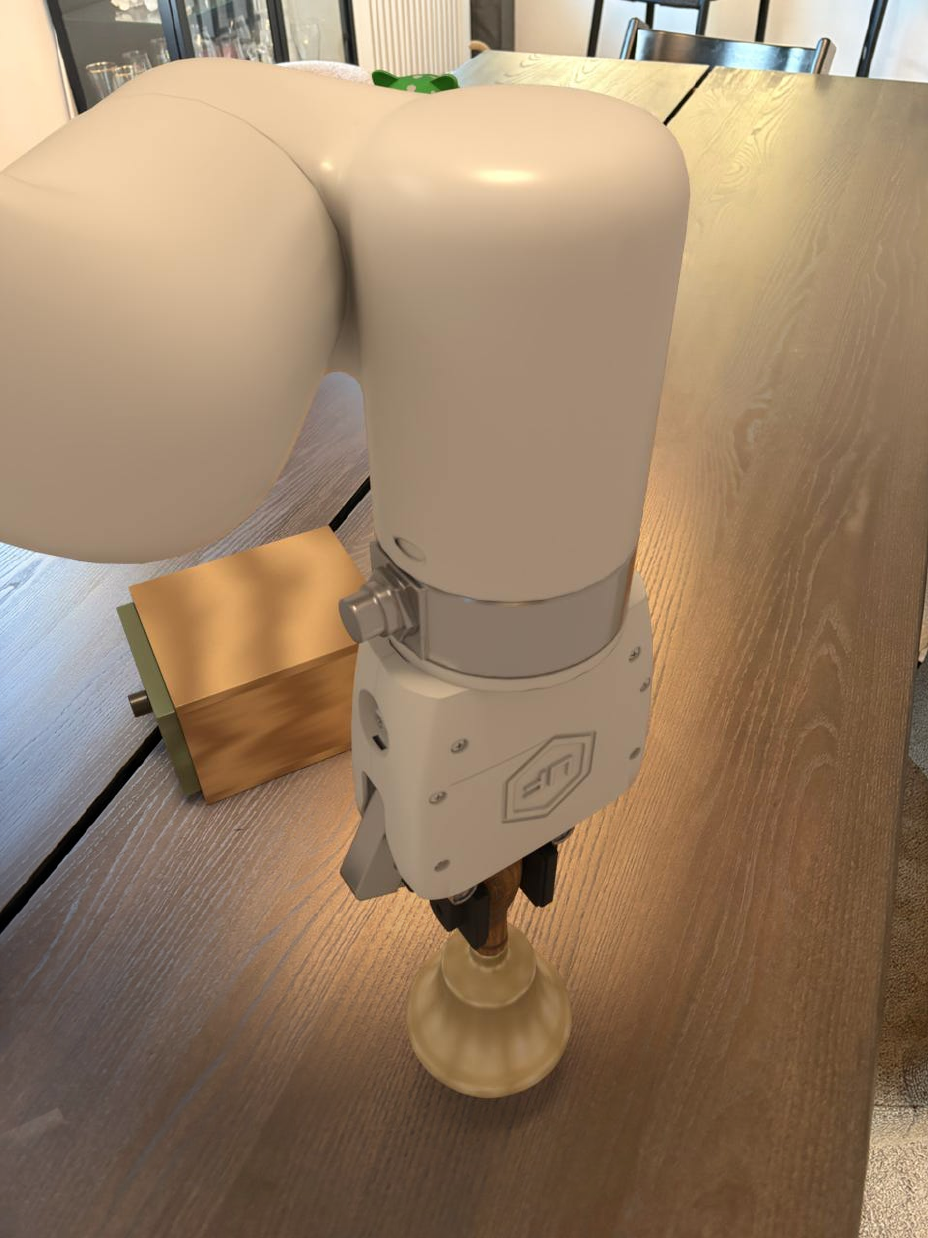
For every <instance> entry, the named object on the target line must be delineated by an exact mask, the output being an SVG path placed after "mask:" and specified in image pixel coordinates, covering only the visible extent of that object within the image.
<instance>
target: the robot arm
mask: <svg viewBox="0 0 928 1238" xmlns="http://www.w3.org/2000/svg"><path fill="white" fill-rule="evenodd" d="M677 139H678V138H677V137H676V136H675V135H674V134H673V132H672V131H671V130H670V129H669V128H668V127H667V126H666V124H664V122H662V121H661V120H660V118H658V117H657V116H656V115H655V114H653V113H651V112H650V111H648V110H646V109H644V108H642V107H640V106H638V105H636V104H634V103H631V102H629V101H625V100H623V99H621V98H618V97H615V96H611V95H609V94H605V93H602V92H597V91H593V90H588V89H584V88H583V89H582V88H575V87H570V86H562V85H553V84H552V85H551V84H538V83H537V84H534V83H501V84H500V83H498V84H482V85H472V86H465V87H460V88H457V89H452V90H446V91H441V92H438V93H434V94H426V93H418V92H410V91H403V90H397V89H392V88H386V87H381V86H375V85H374V84H370V83H364V82H360V81H359V82H358V81H353V80H347V79H343V78H339V77H334V76H329V75H326V74H325V75H324V74H320V73H317V72H316V73H315V72H312V71H311V72H310V71H306V70H302V69H297V68H292V67H288V66H283V65H279V64H278V65H277V64H273V63H268V62H261V61H256V60H251V59H250V60H248V59H241V58H233V57H226V56H225V57H224V56H223V57H222V56H221V57H220V56H219V57H218V56H215V57H214V56H204V57H203V56H202V57H201V56H200V57H190V58H183V59H177V60H172V61H170V62H165V63H164V64H160V65H158V66H157V65H156V66H155V67H152V68H149V69H147V70H145V71H143V72H142V73H139V74H138V75H136V76H134V77H132V78H131V79H129V80H128V81H126V82H125V83H124V84H122V85H121V86H120V87H118V88H117V89H115V90H114V91H112V92H111V93H110V94H108V95H107V96H106V97H105V98H103V99H101V100H100V101H99V102H98V103H96V104H95V105H94V106H92V107H91V108H89V109H88V110H86V111H84V112H82V113H79V114H78V115H76V116H75V117H72V118H71V119H70V120H68V121H67V122H65V123H64V124H62V126H60V127H59V128H57V129H56V130H55V131H53V132H52V133H50V134H49V135H48V136H46V137H45V138H44V139H42V140H41V141H40V142H39V143H37V144H36V145H34V146H33V147H32V148H30V149H29V150H27V151H26V152H25V153H24V154H22V155H21V156H19V157H18V158H16V159H15V160H14V161H13V162H11V163H10V164H8V165H7V166H6V167H5V168H3V169H1V170H0V543H2V544H5V545H8V546H11V547H16V548H19V549H22V550H26V551H30V552H33V553H38V554H43V555H48V556H52V557H57V558H63V559H68V560H72V561H77V562H83V563H84V562H85V563H91V564H102V565H103V564H104V565H105V564H107V565H108V564H109V565H111V564H112V565H144V564H150V563H155V562H159V561H165V560H171V559H176V558H180V557H181V558H182V557H184V556H187V555H190V554H191V553H194V552H197V551H199V550H201V549H203V548H205V547H207V546H209V545H211V544H213V543H215V542H218V541H219V540H222V539H223V538H224V537H226V536H227V535H228V534H229V533H231V532H232V531H233V530H235V528H237V527H238V526H239V525H241V524H242V522H244V521H245V520H246V519H247V518H248V517H249V516H250V515H252V514H253V513H254V512H255V511H256V510H257V509H258V507H259V506H260V505H261V504H262V503H263V501H264V500H265V499H266V497H268V495H269V493H270V492H271V490H272V489H273V487H274V486H275V484H276V483H277V481H278V479H279V478H280V476H281V474H282V472H283V470H284V469H285V466H286V464H287V463H288V461H289V459H290V456H291V454H292V452H293V450H294V447H295V446H296V443H297V441H298V438H299V436H300V434H301V431H302V428H303V427H304V424H305V421H306V419H307V417H308V414H309V412H310V409H311V407H312V405H313V402H314V400H315V397H316V395H317V393H318V390H319V387H320V385H321V383H322V380H323V378H324V377H326V376H328V375H330V374H333V373H343V374H345V375H349V377H352V379H354V380H355V382H357V383H358V385H359V387H360V390H361V392H362V399H363V400H362V401H363V410H364V411H363V412H364V422H365V434H366V447H367V459H368V471H369V483H370V484H369V485H370V494H371V507H372V508H371V509H372V519H373V520H372V521H373V534H374V536H373V537H374V540H372V541H370V542H369V543H368V544H369V555H370V566H371V567H370V568H371V575H370V576H369V579H368V580H367V583H365V584H363V585H362V586H361V587H360V591H359V592H357V593H354V594H352V595H350V596H347V597H345V598H343V599H340V600H339V603H338V605H339V613H340V616H341V619H342V622H343V624H344V627H345V629H346V630H347V632H348V634H349V635H350V637H351V638H352V639H353V641H355V642H356V643H358V644H359V647H358V654H357V661H356V668H355V675H354V686H353V697H352V719H351V743H352V749H351V764H352V779H353V789H354V797H355V803H356V806H357V807H356V808H357V810H358V814H359V815H360V817H361V820H360V823H359V824H358V827H357V829H356V831H355V834H354V836H353V839H352V841H351V843H350V845H349V847H348V850H347V852H346V854H345V857H344V860H343V861H342V864H341V866H340V868H339V875H340V877H341V878H342V880H343V881H344V883H345V884H346V885H347V887H348V889H349V890H350V892H351V893H352V895H353V896H354V897H355V899H356V901H359V902H363V901H367V900H372V899H376V898H379V897H383V896H387V895H390V894H395V893H397V892H398V891H399V889H401V888H406V889H407V890H408V891H409V893H413V894H414V893H415V895H416V896H417V897H418V898H420V899H422V900H427V901H429V905H430V909H431V911H432V913H433V915H434V916H435V918H436V919H437V921H438V922H439V924H440V925H441V927H442V928H443V929H444V930H445V931H446V932H447V933H452V932H453V931H456V930H457V929H458V930H459V931H460V932H461V934H462V935H463V936H464V938H465V939H466V941H467V942H468V943H469V945H470V946H471V947H472V948H473V949H474V950H477V949H479V948H480V947H482V946H483V945H485V944H486V943H487V939H488V938H489V915H490V893H489V890H488V888H487V887H486V885H485V884H484V883H483V882H482V881H484V880H485V879H487V878H489V877H491V876H492V875H494V874H496V873H497V872H499V871H501V870H503V869H504V868H506V867H508V866H509V865H511V864H513V863H514V862H516V861H518V860H519V859H521V858H522V876H521V881H520V885H519V889H520V890H521V892H522V893H523V894H524V895H525V897H526V898H527V899H528V900H529V901H530V903H531V904H532V905H533V906H534V908H541V909H543V908H545V907H546V906H548V905H550V904H551V903H553V901H554V895H555V886H556V878H557V877H556V876H557V869H558V861H559V860H558V859H559V850H558V849H559V845H560V844H562V843H564V842H565V841H567V840H568V839H569V838H570V837H571V836H572V834H573V833H574V831H575V829H576V826H577V825H579V824H581V823H582V822H584V821H585V820H587V819H589V818H590V817H592V816H594V815H595V814H597V813H598V812H601V810H603V809H605V808H606V807H608V806H610V804H612V803H614V802H615V801H616V800H618V799H619V798H620V797H621V796H622V795H623V794H624V793H625V792H627V791H628V790H629V789H630V788H631V787H632V785H633V784H634V783H635V781H636V780H637V777H638V775H639V773H640V770H641V767H642V762H643V758H644V755H645V749H646V742H647V736H648V729H649V722H650V713H651V702H652V692H653V675H654V637H653V628H652V627H653V625H652V618H651V612H650V605H649V600H648V599H649V598H648V594H647V593H648V592H647V588H646V584H645V581H644V578H643V577H642V575H641V574H640V573H639V571H638V570H637V569H636V561H637V555H638V548H639V541H640V535H641V528H642V522H643V517H644V507H645V502H646V497H647V491H648V485H649V484H648V483H649V478H650V472H651V465H652V458H653V452H654V445H655V439H656V433H657V426H658V420H659V413H660V406H661V400H662V395H663V388H664V382H665V374H666V367H667V362H668V355H669V348H670V342H671V336H672V329H673V323H674V316H675V310H676V304H677V303H676V302H677V297H678V290H679V285H680V283H679V282H680V277H681V270H682V265H683V257H684V252H685V244H686V239H687V231H688V221H689V214H690V213H689V212H690V202H691V201H690V200H691V185H690V184H691V183H690V176H689V171H688V167H687V163H686V159H685V153H684V151H683V149H682V147H681V145H680V143H679V141H678V140H677Z"/></svg>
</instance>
